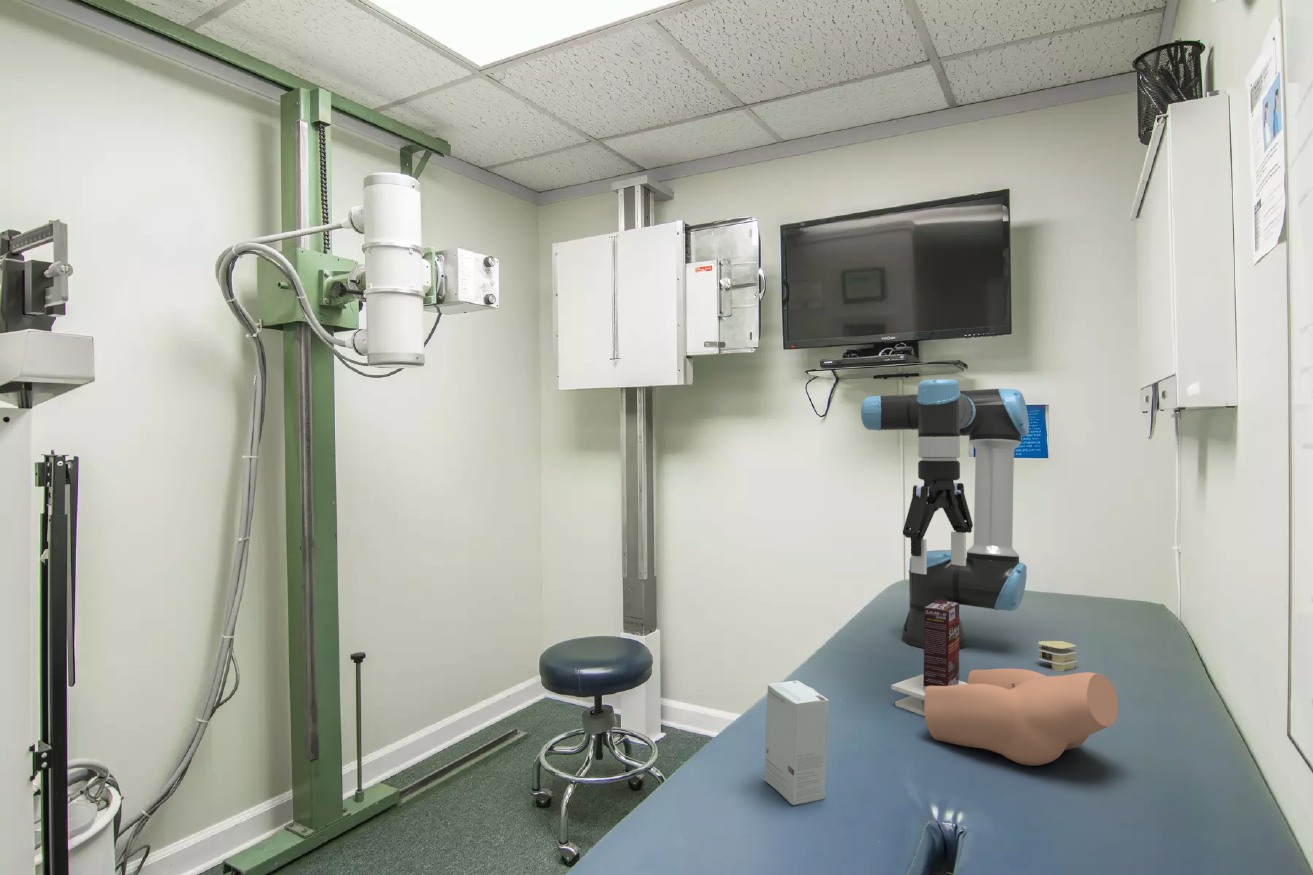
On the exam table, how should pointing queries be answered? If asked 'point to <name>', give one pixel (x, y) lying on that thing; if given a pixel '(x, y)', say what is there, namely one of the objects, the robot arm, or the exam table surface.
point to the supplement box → (941, 644)
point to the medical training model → (1021, 712)
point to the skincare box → (796, 741)
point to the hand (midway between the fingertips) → (939, 569)
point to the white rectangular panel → (913, 694)
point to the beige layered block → (1058, 654)
